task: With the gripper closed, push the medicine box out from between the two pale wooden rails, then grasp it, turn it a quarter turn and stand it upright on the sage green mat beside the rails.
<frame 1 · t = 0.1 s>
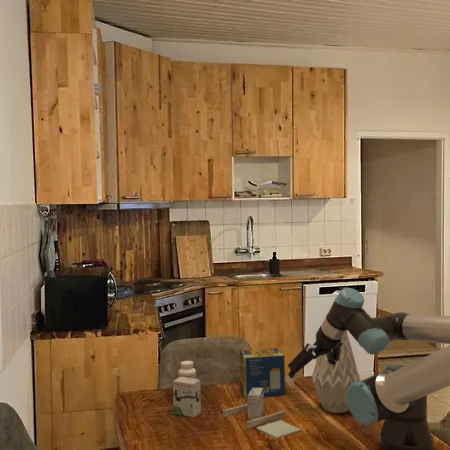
hand: (304, 379, 187), 15 cm above the table, tool tilted 35°, fingers open, 13 cm apart
protein box: (262, 393, 222), on the table
supplement bottle: (187, 396, 221), on the table
slot rack: (254, 416, 197), on the table
ink box: (187, 414, 202), on the table
sage mat: (278, 429, 185), on the table
medicine box: (256, 416, 198), on the table
vase: (336, 409, 203), on the table
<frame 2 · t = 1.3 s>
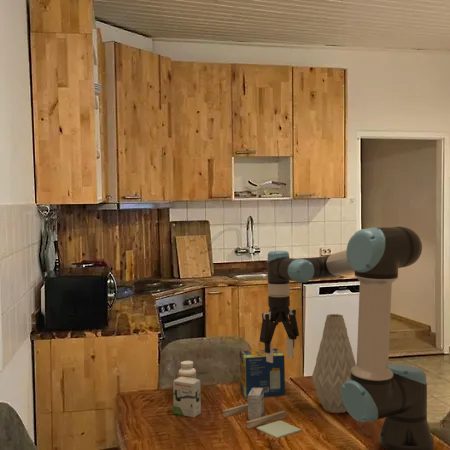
hand: (280, 359, 204), 17 cm above the table, tool pointing down, fingers open, 9 cm apart
nothing on the table moved.
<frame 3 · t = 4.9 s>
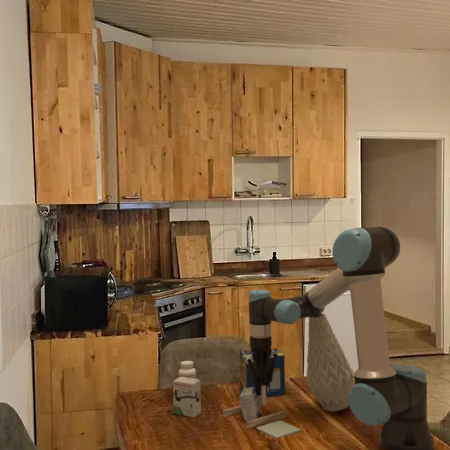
hand: (261, 403, 199), 4 cm above the table, tool pointing down, fingers closed
medicine box: (252, 416, 197), on the table, touching gripper
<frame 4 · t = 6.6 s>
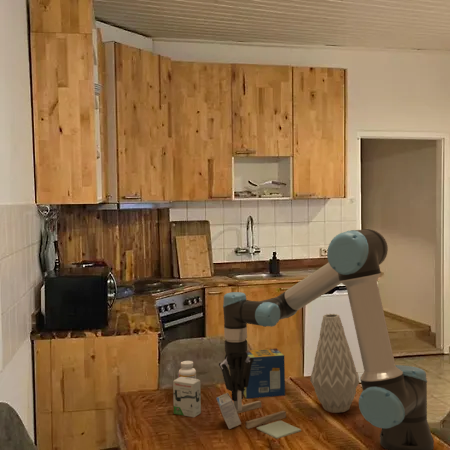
hand: (237, 409, 194), 4 cm above the table, tool pointing down, fingers closed
medicine box: (233, 423, 191), on the table, touching gripper
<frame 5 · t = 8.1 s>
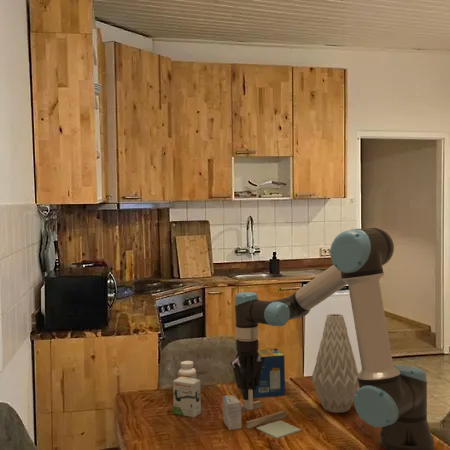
hand: (248, 408, 196), 3 cm above the table, tool pointing down, fingers closed
medicine box: (232, 425, 190), on the table
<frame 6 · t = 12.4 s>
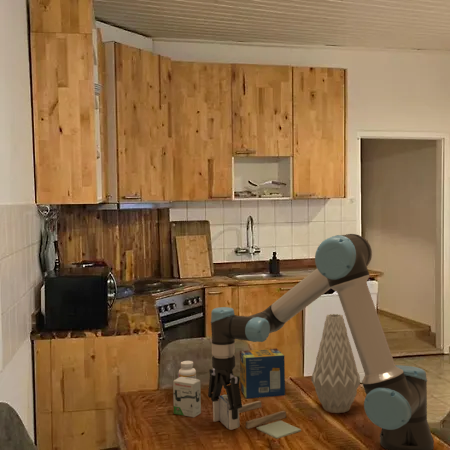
hand: (225, 424, 190), 0 cm above the table, tool pointing down, fingers closed on medicine box, 8 cm apart
medicine box: (229, 424, 191), on the table, touching gripper
everything else where it was.
when the fingers open (2 cm above the table, at t = 18.6 s): medicine box drops 2 cm, resting on sage mat.
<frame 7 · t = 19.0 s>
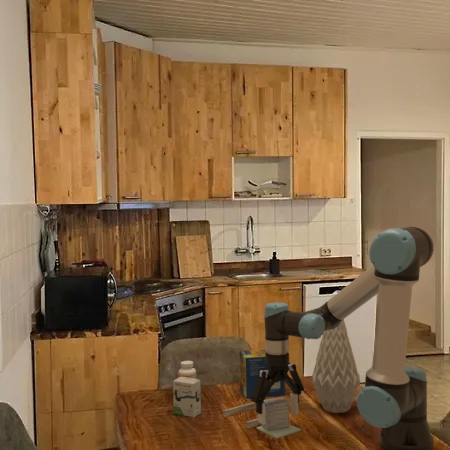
hand: (278, 418, 185), 4 cm above the table, tool pointing down, fingers open, 13 cm apart
medicine box: (275, 427, 186), resting on sage mat
everything else where it was.
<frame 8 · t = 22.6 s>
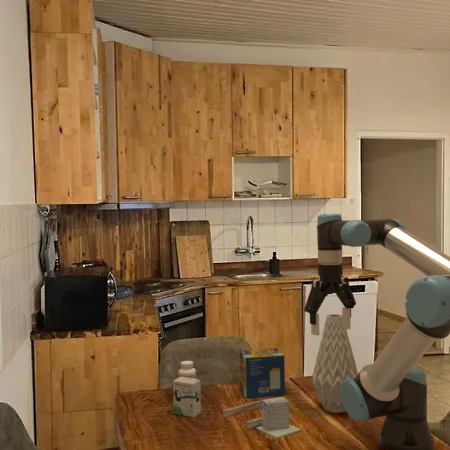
hand: (331, 331, 181), 32 cm above the table, tool pointing down, fingers open, 13 cm apart
nothing on the table moved.
at the end: medicine box inside the target area on the sage mat (1.5 cm from its centre), point 0.3 cm above the sage mat's base; medicine box tilted 0°; the gripper is holding nothing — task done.
